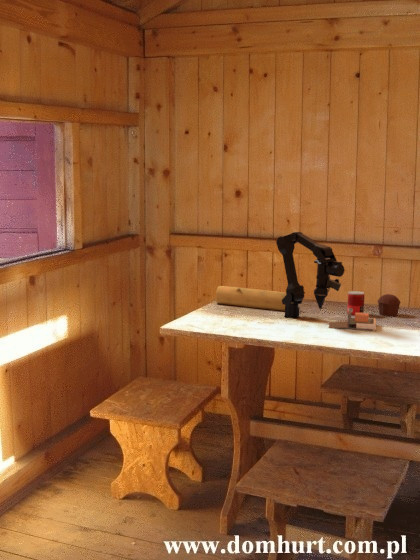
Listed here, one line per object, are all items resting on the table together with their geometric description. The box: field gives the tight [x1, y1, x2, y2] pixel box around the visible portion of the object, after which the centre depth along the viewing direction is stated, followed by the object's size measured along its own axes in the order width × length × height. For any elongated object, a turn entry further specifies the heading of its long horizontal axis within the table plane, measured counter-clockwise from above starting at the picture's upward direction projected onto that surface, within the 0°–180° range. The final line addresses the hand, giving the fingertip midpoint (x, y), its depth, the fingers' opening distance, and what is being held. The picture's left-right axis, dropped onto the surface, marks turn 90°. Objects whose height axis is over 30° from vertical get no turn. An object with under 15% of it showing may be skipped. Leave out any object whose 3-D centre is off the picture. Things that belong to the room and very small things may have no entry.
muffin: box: [377, 293, 401, 317], centre depth 398 cm, size 12×11×10 cm
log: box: [214, 285, 286, 312], centre depth 412 cm, size 38×10×10 cm, turn 64°
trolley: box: [347, 310, 371, 326], centre depth 368 cm, size 10×11×6 cm
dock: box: [328, 317, 377, 332], centre depth 369 cm, size 21×14×4 cm, turn 78°
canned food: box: [346, 290, 365, 317], centre depth 398 cm, size 8×8×11 cm
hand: (321, 306), depth 374 cm, fingers open, 9 cm apart
